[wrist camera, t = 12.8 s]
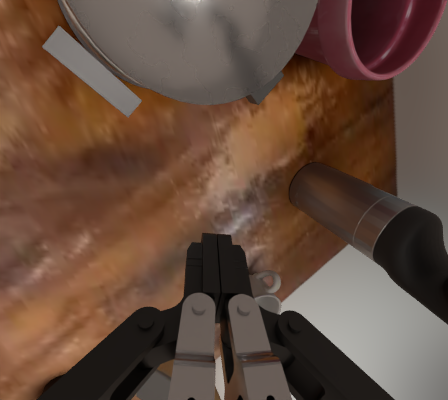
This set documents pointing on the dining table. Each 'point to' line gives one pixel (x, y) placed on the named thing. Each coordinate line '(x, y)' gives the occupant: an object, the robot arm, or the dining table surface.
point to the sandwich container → (160, 384)
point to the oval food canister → (107, 66)
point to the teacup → (266, 291)
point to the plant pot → (370, 35)
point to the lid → (197, 42)
